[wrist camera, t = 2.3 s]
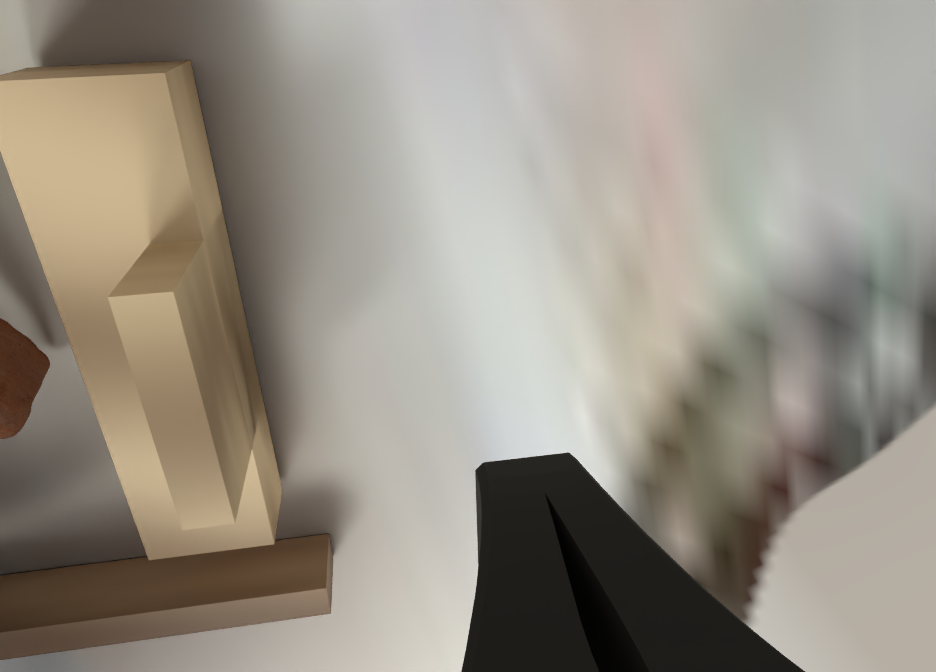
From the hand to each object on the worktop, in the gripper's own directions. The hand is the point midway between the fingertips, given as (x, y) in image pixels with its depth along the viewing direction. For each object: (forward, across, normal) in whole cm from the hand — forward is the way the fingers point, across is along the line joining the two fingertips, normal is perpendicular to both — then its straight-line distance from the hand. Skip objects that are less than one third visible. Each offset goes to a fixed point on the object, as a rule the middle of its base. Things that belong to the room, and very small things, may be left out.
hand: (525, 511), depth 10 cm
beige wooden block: (+8, +7, 0) cm, 10 cm away
